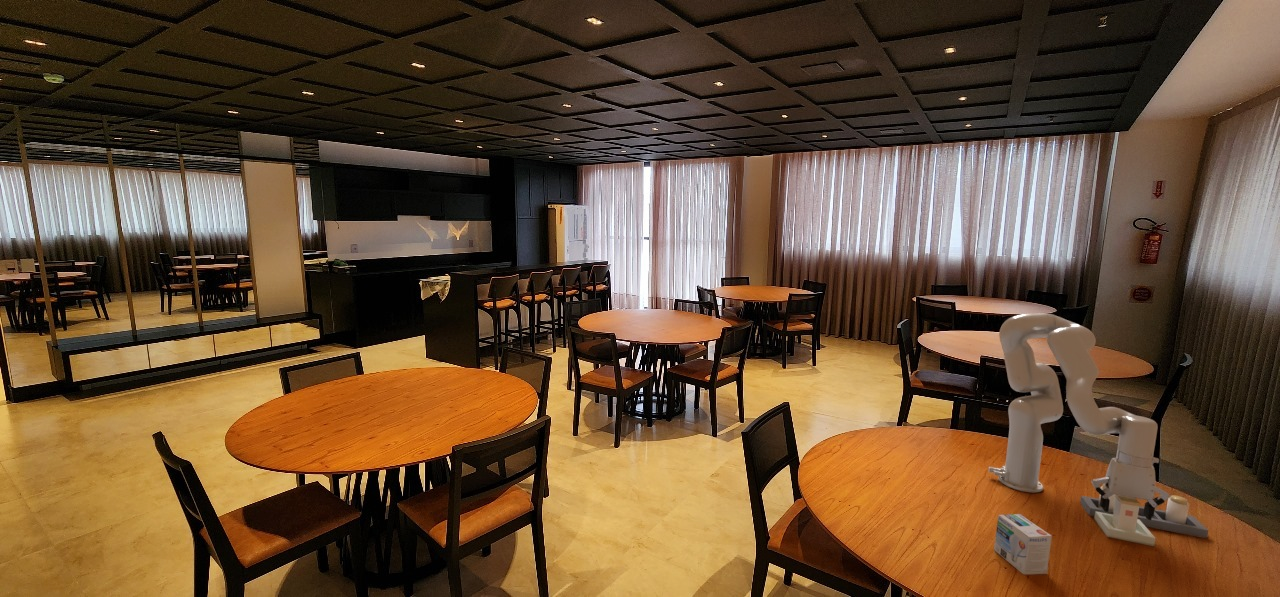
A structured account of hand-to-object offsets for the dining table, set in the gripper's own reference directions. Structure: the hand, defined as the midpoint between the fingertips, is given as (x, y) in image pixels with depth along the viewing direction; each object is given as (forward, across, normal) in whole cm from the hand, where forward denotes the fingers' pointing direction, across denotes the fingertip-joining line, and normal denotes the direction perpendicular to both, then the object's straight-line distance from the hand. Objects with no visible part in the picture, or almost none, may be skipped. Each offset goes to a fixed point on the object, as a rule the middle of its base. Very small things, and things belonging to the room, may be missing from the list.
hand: (1125, 513), depth 153 cm
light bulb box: (+6, +31, +30) cm, 44 cm away
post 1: (+6, 0, -11) cm, 12 cm away
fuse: (+5, 0, 0) cm, 5 cm away
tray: (+6, 0, 0) cm, 6 cm away
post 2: (+6, -16, -11) cm, 20 cm away
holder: (+6, -8, -11) cm, 15 cm away
